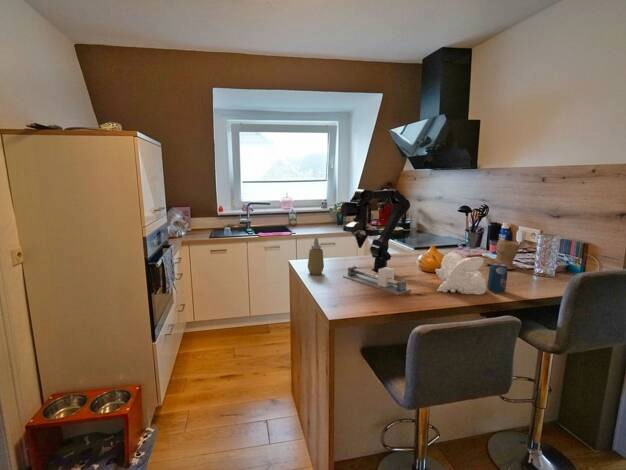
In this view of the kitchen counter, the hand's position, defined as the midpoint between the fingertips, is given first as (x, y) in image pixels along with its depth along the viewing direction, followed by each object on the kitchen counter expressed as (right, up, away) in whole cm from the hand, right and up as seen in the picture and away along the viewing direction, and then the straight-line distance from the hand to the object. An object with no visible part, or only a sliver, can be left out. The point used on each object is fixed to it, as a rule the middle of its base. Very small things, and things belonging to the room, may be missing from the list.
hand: (360, 247), depth 171 cm
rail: (+5, -16, -13) cm, 21 cm away
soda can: (+56, -18, -20) cm, 62 cm away
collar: (+9, -16, -17) cm, 25 cm away
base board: (+5, -16, -13) cm, 21 cm away
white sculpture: (+39, -18, -20) cm, 47 cm away
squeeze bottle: (-22, -13, +1) cm, 25 cm away
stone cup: (+79, -11, +19) cm, 82 cm away
